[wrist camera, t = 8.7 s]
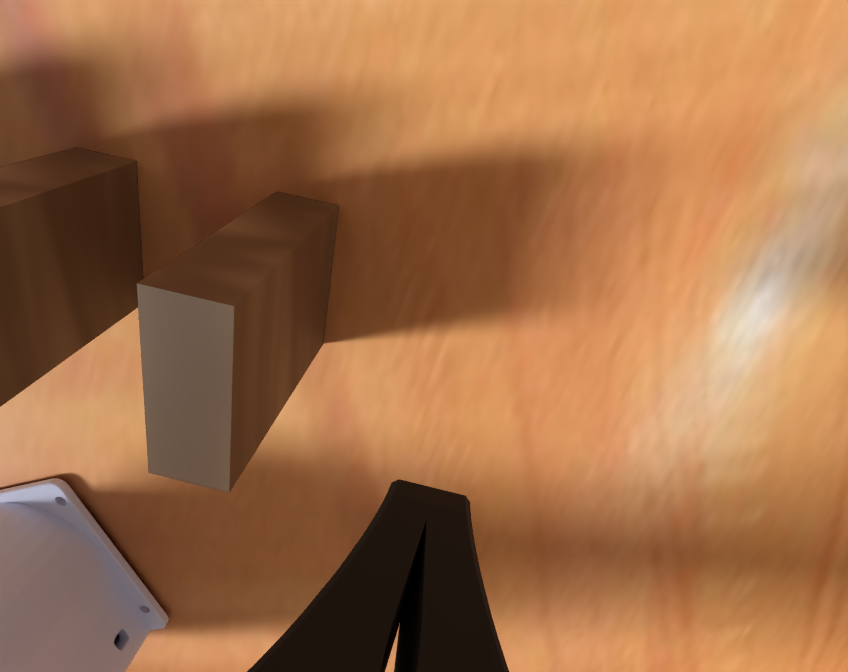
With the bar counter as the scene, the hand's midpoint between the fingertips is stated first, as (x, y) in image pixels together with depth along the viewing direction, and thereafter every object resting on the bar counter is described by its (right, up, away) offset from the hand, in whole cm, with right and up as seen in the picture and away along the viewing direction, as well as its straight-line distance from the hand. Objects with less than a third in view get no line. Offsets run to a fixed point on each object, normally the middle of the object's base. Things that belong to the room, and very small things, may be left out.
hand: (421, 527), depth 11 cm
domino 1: (-10, +7, +9) cm, 15 cm away
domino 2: (-4, +6, +9) cm, 11 cm away
